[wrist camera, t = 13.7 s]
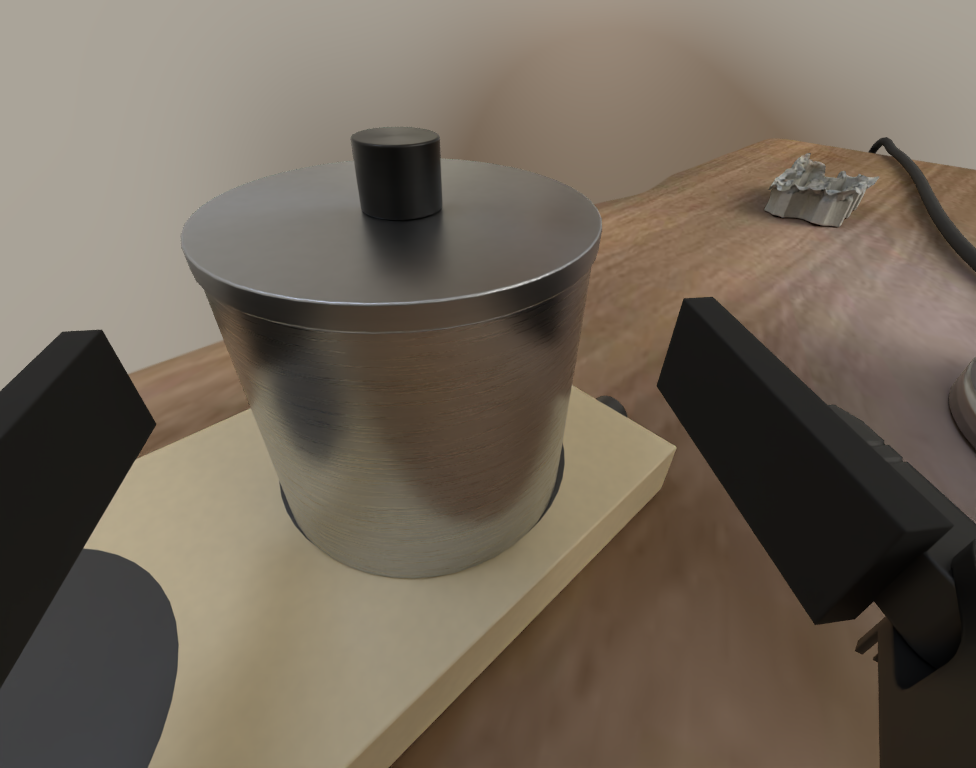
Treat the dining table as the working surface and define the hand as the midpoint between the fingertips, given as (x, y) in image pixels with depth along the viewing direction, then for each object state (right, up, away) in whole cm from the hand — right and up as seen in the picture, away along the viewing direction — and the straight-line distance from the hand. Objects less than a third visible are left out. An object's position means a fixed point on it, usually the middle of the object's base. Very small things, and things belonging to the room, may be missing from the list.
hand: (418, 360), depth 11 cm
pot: (-1, -3, +6) cm, 7 cm away
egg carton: (+34, +17, +36) cm, 53 cm away
